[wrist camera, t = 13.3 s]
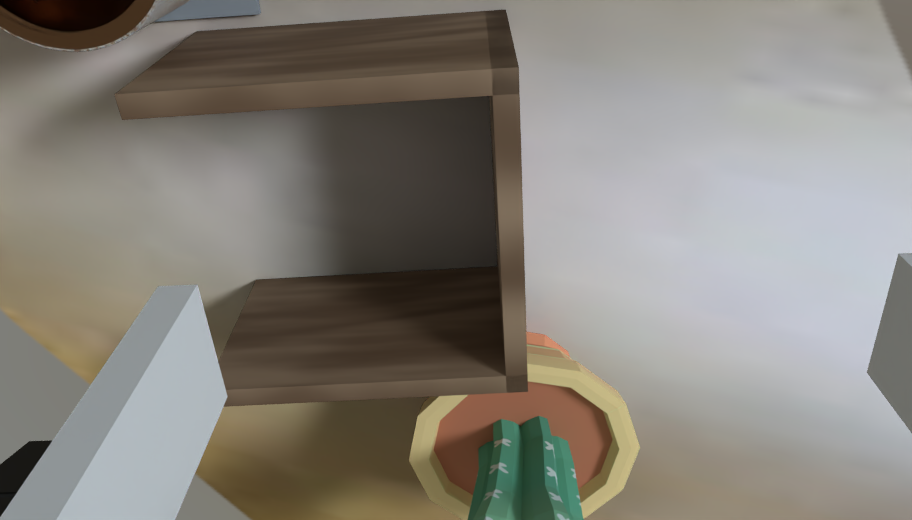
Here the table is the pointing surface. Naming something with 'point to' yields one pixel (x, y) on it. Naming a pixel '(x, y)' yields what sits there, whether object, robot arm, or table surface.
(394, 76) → the wooden cubby shelf
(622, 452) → the potted cactus
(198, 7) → the mat
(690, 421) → the table surface
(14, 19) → the planter
